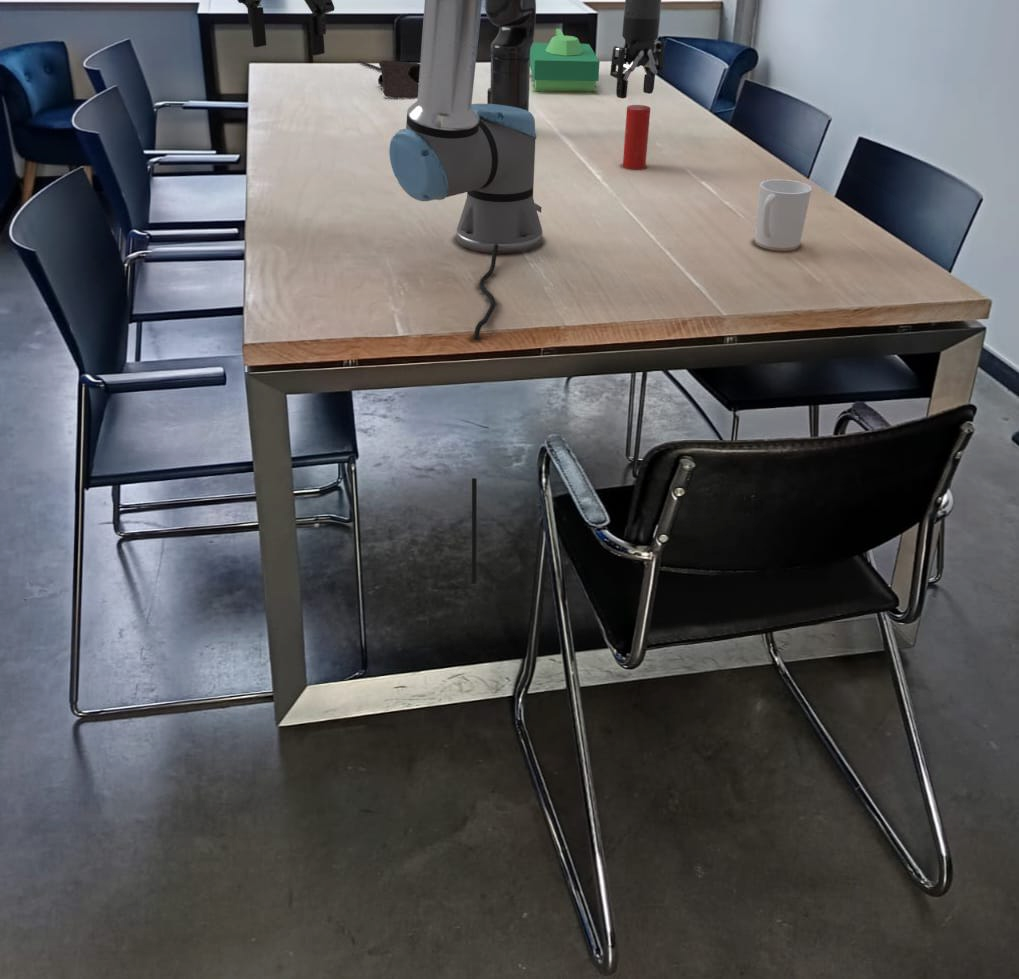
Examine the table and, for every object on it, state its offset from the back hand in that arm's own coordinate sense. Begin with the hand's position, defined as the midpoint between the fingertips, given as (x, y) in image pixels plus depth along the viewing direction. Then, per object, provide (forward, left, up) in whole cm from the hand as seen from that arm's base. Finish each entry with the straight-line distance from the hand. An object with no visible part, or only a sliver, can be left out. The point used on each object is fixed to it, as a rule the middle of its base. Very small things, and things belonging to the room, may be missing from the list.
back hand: (634, 95), depth 236 cm
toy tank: (-70, +51, -14) cm, 88 cm away
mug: (+54, -23, -14) cm, 61 cm away
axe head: (-88, +7, -14) cm, 89 cm away
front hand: (-23, -72, +13) cm, 77 cm away
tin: (+3, -2, -14) cm, 15 cm away
